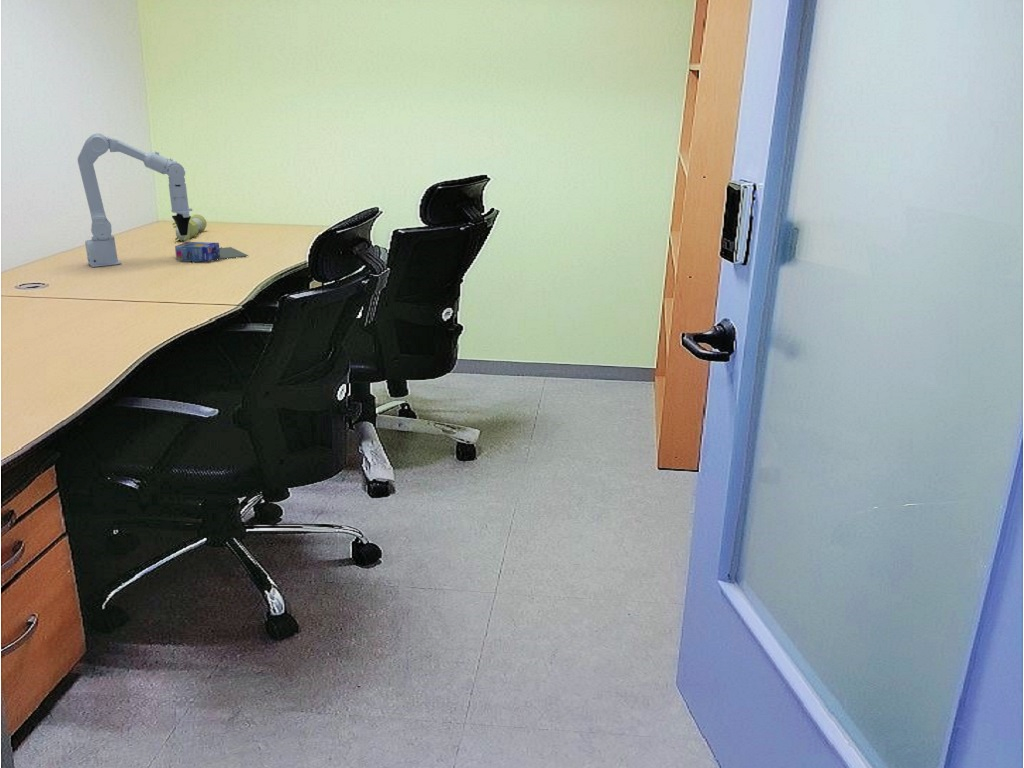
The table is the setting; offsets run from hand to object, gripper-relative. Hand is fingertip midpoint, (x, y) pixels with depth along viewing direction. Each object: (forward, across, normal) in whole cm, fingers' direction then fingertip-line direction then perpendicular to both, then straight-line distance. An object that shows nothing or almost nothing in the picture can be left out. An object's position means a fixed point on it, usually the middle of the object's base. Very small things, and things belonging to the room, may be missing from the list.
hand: (183, 235), depth 301 cm
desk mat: (+8, 0, -10) cm, 13 cm away
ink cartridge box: (+5, -2, +2) cm, 6 cm away
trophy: (+9, +44, -14) cm, 47 cm away
